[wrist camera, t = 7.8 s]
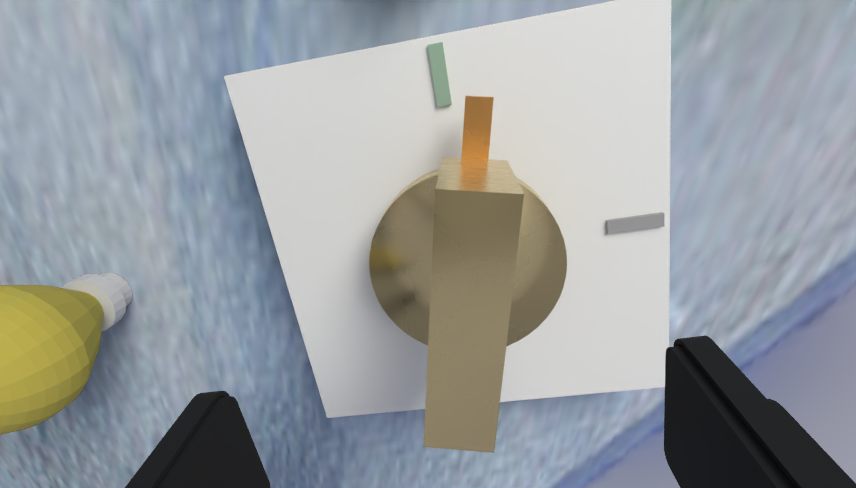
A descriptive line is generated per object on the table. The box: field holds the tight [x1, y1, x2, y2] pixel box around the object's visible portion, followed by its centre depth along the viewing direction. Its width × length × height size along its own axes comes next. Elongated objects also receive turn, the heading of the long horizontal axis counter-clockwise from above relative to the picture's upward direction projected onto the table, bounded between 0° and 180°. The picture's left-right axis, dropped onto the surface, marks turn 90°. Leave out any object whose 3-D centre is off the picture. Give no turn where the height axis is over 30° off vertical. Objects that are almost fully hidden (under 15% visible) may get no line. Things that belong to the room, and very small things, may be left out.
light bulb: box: [0, 273, 132, 434], centre depth 23 cm, size 7×7×10 cm
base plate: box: [224, 0, 671, 418], centre depth 23 cm, size 18×18×3 cm
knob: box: [369, 95, 567, 453], centre depth 17 cm, size 11×8×8 cm
